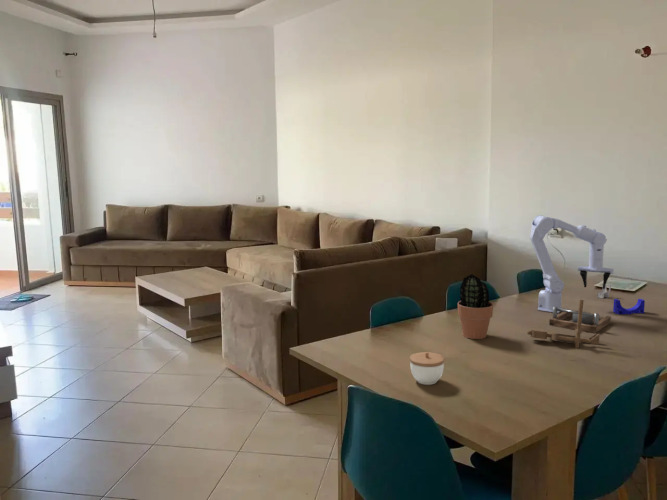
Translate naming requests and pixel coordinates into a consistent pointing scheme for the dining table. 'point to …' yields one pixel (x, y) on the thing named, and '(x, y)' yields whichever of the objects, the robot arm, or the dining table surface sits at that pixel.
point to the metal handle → (596, 316)
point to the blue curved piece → (636, 309)
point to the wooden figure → (566, 337)
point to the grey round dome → (583, 319)
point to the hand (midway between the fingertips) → (594, 287)
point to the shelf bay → (573, 325)
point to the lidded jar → (427, 367)
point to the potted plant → (474, 308)
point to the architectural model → (604, 292)
